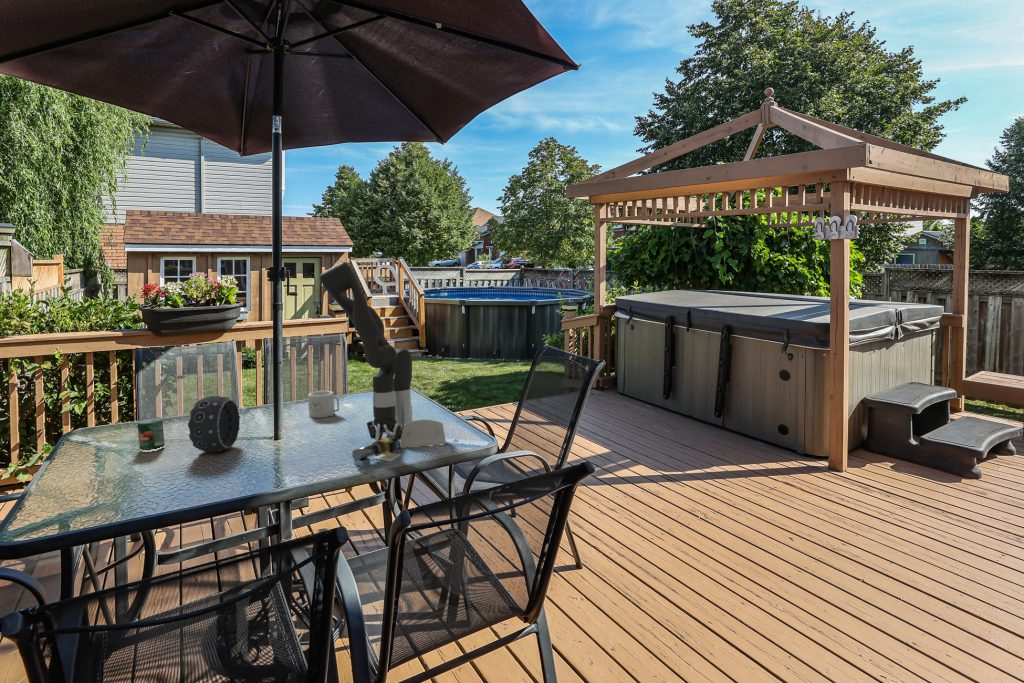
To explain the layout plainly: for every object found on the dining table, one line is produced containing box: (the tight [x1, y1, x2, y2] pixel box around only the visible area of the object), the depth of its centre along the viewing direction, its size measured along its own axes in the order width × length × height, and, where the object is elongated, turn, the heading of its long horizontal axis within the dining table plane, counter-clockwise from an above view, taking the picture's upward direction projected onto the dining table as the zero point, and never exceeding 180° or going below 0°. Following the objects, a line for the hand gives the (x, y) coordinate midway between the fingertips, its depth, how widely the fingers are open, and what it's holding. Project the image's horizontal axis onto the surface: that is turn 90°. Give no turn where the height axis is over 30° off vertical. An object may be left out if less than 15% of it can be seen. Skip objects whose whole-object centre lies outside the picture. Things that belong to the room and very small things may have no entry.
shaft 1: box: [351, 441, 382, 468], centre depth 199 cm, size 9×5×6 cm, turn 138°
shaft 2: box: [383, 431, 401, 450], centre depth 213 cm, size 9×5×6 cm, turn 179°
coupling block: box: [375, 437, 391, 455], centre depth 205 cm, size 4×4×4 cm
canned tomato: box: [136, 416, 166, 450], centre depth 216 cm, size 8×8×11 cm
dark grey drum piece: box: [187, 395, 241, 453], centre depth 213 cm, size 11×20×20 cm, turn 2°
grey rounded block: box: [399, 419, 447, 449], centre depth 219 cm, size 17×5×10 cm, turn 100°
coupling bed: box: [371, 452, 402, 462], centre depth 206 cm, size 7×8×1 cm
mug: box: [307, 390, 340, 419], centre depth 259 cm, size 14×11×10 cm
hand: (386, 451), depth 206 cm, fingers closed on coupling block, 4 cm apart
